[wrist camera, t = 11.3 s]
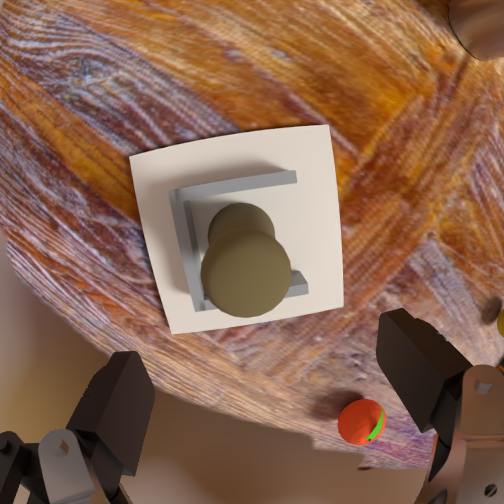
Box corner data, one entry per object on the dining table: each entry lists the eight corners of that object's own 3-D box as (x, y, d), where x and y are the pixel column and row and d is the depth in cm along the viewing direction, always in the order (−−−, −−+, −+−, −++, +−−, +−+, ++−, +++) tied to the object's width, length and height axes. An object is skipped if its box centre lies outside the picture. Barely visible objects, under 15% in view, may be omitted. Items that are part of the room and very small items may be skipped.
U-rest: (133, 157, 23) (116, 155, 19) (325, 126, 23) (340, 119, 20) (173, 329, 28) (166, 350, 24) (340, 302, 29) (353, 320, 25)
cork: (262, 276, 26) (281, 344, 16) (199, 257, 25) (178, 318, 15) (284, 214, 25) (321, 248, 14) (218, 193, 24) (206, 212, 13)
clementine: (349, 382, 32) (367, 420, 26) (387, 384, 33) (407, 417, 27) (324, 420, 34) (336, 456, 28) (361, 420, 35) (376, 452, 29)
